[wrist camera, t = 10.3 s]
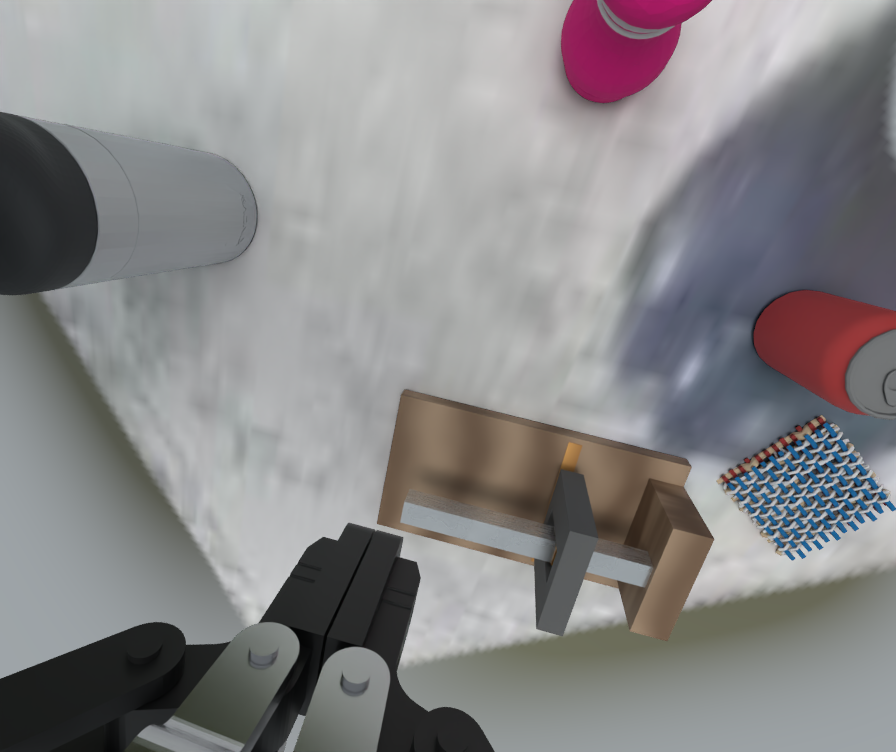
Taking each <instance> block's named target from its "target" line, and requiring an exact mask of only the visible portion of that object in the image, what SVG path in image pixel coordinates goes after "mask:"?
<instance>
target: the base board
mask: <svg viewBox="0 0 896 752" xmlns="http://www.w3.org/2000/svg"><path fill="white" fill-rule="evenodd" d="M691 468H692V467H691V465H690V464H689V462H688V461H687V459H684V458H680V457H676V456H672V455H668V454H664V453H660V452H656V451H652V450H648V449H644V448H640V447H636V446H632V445H628V444H624V443H620V442H616V441H612V440H607V439H603V438H599V437H595V436H591V435H587V434H583V433H579V432H575V431H571V430H567V429H563V428H559V427H555V426H551V425H547V424H543V423H539V422H535V421H531V420H527V419H523V418H519V417H515V416H510V415H506V414H502V413H498V412H494V411H490V410H486V409H482V408H478V407H474V406H470V405H466V404H462V403H458V402H454V401H450V400H446V399H442V398H438V397H434V396H430V395H426V394H422V393H417V392H413V391H409V390H404V391H403V393H402V394H401V398H400V404H399V409H398V414H397V420H396V425H395V430H394V436H393V441H392V446H391V451H390V457H389V462H388V467H387V473H386V478H385V483H384V489H383V494H382V499H381V505H380V510H379V515H378V521H377V524H380V525H383V526H387V527H391V528H395V529H398V530H402V531H406V532H410V533H413V534H417V535H421V536H424V537H428V538H432V539H436V540H439V541H443V542H447V543H451V544H454V545H458V546H462V547H466V548H469V549H473V550H477V551H481V552H484V553H488V554H492V555H495V556H499V557H503V558H507V559H510V560H514V561H518V562H522V563H525V564H529V565H533V566H534V558H532V557H528V556H524V555H520V554H517V553H513V552H509V551H505V550H502V549H498V548H494V547H490V546H487V545H483V544H479V543H475V542H472V541H468V540H464V539H460V538H457V537H453V536H449V535H445V534H442V533H438V532H434V531H430V530H427V529H423V528H419V527H415V526H412V525H408V524H404V523H400V521H401V516H402V511H403V506H404V501H405V499H406V497H407V494H408V492H409V489H412V490H416V491H420V492H424V493H427V494H431V495H435V496H439V497H443V498H447V499H450V500H454V501H458V502H462V503H466V504H469V505H473V506H477V507H481V508H485V509H489V510H492V511H496V512H500V513H504V514H508V515H512V516H515V517H519V518H523V519H527V520H531V521H535V522H538V523H542V524H543V523H544V520H545V517H546V514H547V511H548V507H549V504H550V501H551V498H552V495H553V492H554V489H555V486H556V483H557V479H558V476H559V473H560V470H561V469H563V470H567V471H571V472H575V473H579V474H583V475H584V478H585V483H586V487H587V491H588V495H589V500H590V504H591V508H592V513H593V517H594V521H595V525H596V530H597V534H598V538H600V539H603V540H607V541H611V542H615V543H619V544H623V545H626V546H630V547H634V548H638V549H642V550H646V551H648V554H649V557H650V559H651V562H652V565H653V570H652V572H651V575H650V577H649V579H648V582H647V584H646V586H645V588H644V587H641V586H637V585H633V584H629V583H626V582H622V581H618V580H614V579H611V578H607V577H603V576H599V575H596V574H592V573H588V572H586V574H585V577H584V579H585V580H589V581H593V582H596V583H600V584H604V585H608V586H611V587H615V588H619V591H620V594H621V598H622V602H623V606H624V610H625V614H626V618H627V622H628V626H629V629H630V631H631V632H635V633H639V634H642V635H647V636H650V637H653V638H657V639H661V640H665V641H667V640H668V638H669V636H670V634H671V632H672V630H673V628H674V625H675V623H676V621H677V619H678V617H679V615H680V612H681V610H682V608H683V606H684V604H685V602H686V599H687V597H688V595H689V593H690V591H691V589H692V586H693V584H694V582H695V580H696V578H697V576H698V573H699V571H700V569H701V567H702V565H703V563H704V560H705V558H706V556H707V554H708V552H709V550H710V547H711V545H712V543H713V541H714V538H713V536H712V534H711V533H710V531H709V529H708V528H707V526H706V524H705V523H704V521H703V519H702V517H701V516H700V514H699V512H698V511H697V509H696V507H695V506H694V504H693V502H692V500H691V499H690V497H689V495H688V494H687V492H686V490H685V489H684V484H685V482H686V479H687V477H688V475H689V472H690V470H691Z"/></svg>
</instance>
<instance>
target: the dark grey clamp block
mask: <svg viewBox="0 0 896 752" xmlns="http://www.w3.org/2000/svg"><path fill="white" fill-rule="evenodd" d="M543 524H546V525H550V526H554V528H555V538H556V548H557V553H556V556H555V559H554V562H553V565H552V566H551V563H550V562H547V561H543V560H539V559H535V558H534V570H535V601H536V629H538V630H542V631H546V632H549V633H553V634H556V635H560V636H563V634H564V631H565V628H566V625H567V623H568V620H569V617H570V615H571V612H572V609H573V606H574V604H575V601H576V598H577V596H578V593H579V590H580V587H581V585H582V582H583V579H584V577H585V574H586V571H587V568H588V566H589V563H590V560H591V558H592V555H593V552H594V549H595V547H596V544H597V541H598V539H599V538H598V534H597V530H596V525H595V521H594V517H593V513H592V508H591V504H590V500H589V495H588V491H587V487H586V483H585V478H584V475H583V474H579V473H575V472H571V471H567V470H563V469H561V470H560V473H559V476H558V479H557V483H556V486H555V489H554V492H553V495H552V498H551V501H550V504H549V507H548V511H547V514H546V517H545V520H544V523H543Z"/></svg>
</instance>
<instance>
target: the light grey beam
mask: <svg viewBox="0 0 896 752" xmlns="http://www.w3.org/2000/svg"><path fill="white" fill-rule="evenodd" d="M400 523H404V524H408V525H412V526H415V527H419V528H423V529H427V530H430V531H434V532H438V533H442V534H445V535H449V536H453V537H457V538H460V539H464V540H468V541H472V542H475V543H479V544H483V545H487V546H490V547H494V548H498V549H502V550H505V551H509V552H513V553H517V554H520V555H524V556H528V557H532V558H535V559H539V560H543V561H547V562H550V563H551V566H552V565H553V562H554V559H555V556H556V553H557V548H556V538H555V528H554V526H550V525H546V524H542V523H538V522H535V521H531V520H527V519H523V518H519V517H515V516H512V515H508V514H504V513H500V512H496V511H492V510H489V509H485V508H481V507H477V506H473V505H469V504H466V503H462V502H458V501H454V500H450V499H447V498H443V497H439V496H435V495H431V494H427V493H424V492H420V491H416V490H412V489H409V492H408V494H407V497H406V499H405V501H404V506H403V511H402V516H401V521H400ZM652 570H653V565H652V562H651V559H650V557H649V554H648V551H646V550H642V549H638V548H634V547H630V546H626V545H623V544H619V543H615V542H611V541H607V540H603V539H600V538H599V539H598V541H597V544H596V547H595V549H594V552H593V555H592V558H591V560H590V563H589V566H588V568H587V571H586V572H588V573H592V574H596V575H599V576H603V577H607V578H611V579H614V580H618V581H622V582H626V583H629V584H633V585H637V586H641V587H644V588H645V586H646V584H647V582H648V579H649V577H650V575H651V572H652Z"/></svg>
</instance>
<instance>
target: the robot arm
mask: <svg viewBox="0 0 896 752" xmlns="http://www.w3.org/2000/svg"><path fill="white" fill-rule="evenodd" d="M256 222H257V210H256V204H255V200H254V196H253V193H252V191H251V189H250V186H249V184H248V183H247V181H246V180H245V178H244V176H243V175H242V174H241V173H240V172H239V171H238V170H237V168H236V167H235V166H234V165H232V164H231V163H229V162H228V161H227V160H225V159H224V158H221V157H219V156H217V155H215V154H211V153H206V152H201V151H197V150H192V149H187V148H182V147H178V146H173V145H168V144H163V143H158V142H153V141H148V140H142V139H137V138H132V137H127V136H122V135H117V134H112V133H107V132H102V131H97V130H91V129H86V128H81V127H76V126H71V125H66V124H59V123H54V122H49V121H44V120H39V119H34V118H29V117H24V116H18V115H13V114H8V113H3V112H0V294H1V295H22V294H31V293H37V292H43V291H50V290H55V289H62V288H68V287H74V286H80V285H86V284H93V283H98V282H104V281H110V280H116V279H122V278H129V277H135V276H141V275H147V274H154V273H160V272H166V271H172V270H178V269H185V268H191V267H198V266H204V265H210V264H217V263H222V262H226V261H230V260H232V259H234V258H236V257H238V256H239V255H240V254H241V253H242V252H243V251H244V250H245V249H246V248H247V246H248V245H249V243H250V242H251V240H252V237H253V235H254V232H255V228H256ZM402 543H403V537H400V536H397V535H393V534H389V533H386V532H382V531H378V530H377V531H376V532H375V530H374V529H370V528H366V527H363V526H359V525H355V524H352V523H348V524H347V526H346V527H345V529H344V531H343V532H342V534H341V536H340V538H339V540H338V541H337V540H333V539H329V538H325V537H322V538H321V539H319V540H318V541H316V542H315V543H313V544H312V545H310V546H309V547H308V548H307V549H306V551H305V552H304V554H303V555H302V557H301V558H300V560H299V562H298V564H297V565H296V566H295V568H294V569H293V571H292V572H291V574H290V577H288V579H287V580H286V582H285V583H284V585H283V586H282V588H281V589H280V591H279V592H278V594H277V596H276V597H275V599H274V600H273V602H272V603H271V605H270V606H269V608H268V610H267V611H266V613H265V614H264V616H263V617H262V619H261V620H260V622H259V623H258V624H254V625H252V626H249V627H247V628H245V629H244V630H242V631H241V632H240V633H239V634H237V635H236V636H235V637H234V639H233V640H232V641H230V642H227V643H222V644H205V645H186V641H185V637H184V635H183V633H182V631H181V630H179V629H178V628H177V627H175V626H173V625H171V624H168V623H162V622H153V623H146V624H142V625H139V626H136V627H133V628H130V629H128V630H125V631H123V632H120V633H117V634H115V635H112V636H110V637H107V638H104V639H102V640H99V641H97V642H94V643H92V644H89V645H87V646H84V647H81V648H79V649H76V650H74V651H71V652H68V653H66V654H63V655H61V656H58V657H56V658H53V659H50V660H48V661H45V662H43V663H40V664H37V665H35V666H32V667H30V668H27V669H24V670H22V671H19V672H17V673H14V674H12V675H9V676H6V677H4V678H1V679H0V752H284V750H285V746H286V741H287V738H288V736H289V734H290V732H291V729H292V728H293V725H294V723H295V721H296V719H297V716H298V714H300V715H303V716H305V719H304V722H303V725H302V728H301V731H300V734H299V736H298V739H297V742H296V745H295V748H294V751H293V752H494V750H493V748H492V746H491V745H490V743H489V741H488V740H487V738H486V736H485V734H484V732H483V731H482V729H481V728H480V726H479V725H478V723H477V722H476V721H475V720H474V719H473V718H472V717H471V716H469V715H468V714H466V713H465V712H463V711H461V710H458V709H455V708H451V707H441V708H437V709H434V710H432V711H429V712H428V711H426V710H425V709H424V708H422V707H421V706H419V705H418V704H416V703H415V702H414V701H412V700H411V699H410V698H409V697H408V696H407V695H406V693H405V692H404V690H403V689H402V687H401V685H400V683H399V680H398V677H397V669H398V665H399V662H400V658H401V654H402V651H403V647H404V644H405V640H406V636H407V633H408V629H409V625H410V622H411V617H412V613H413V609H414V604H415V600H416V596H417V592H418V587H419V583H420V579H421V578H420V574H419V569H418V565H417V562H414V561H411V560H407V559H403V558H400V552H401V548H402Z"/></svg>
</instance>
